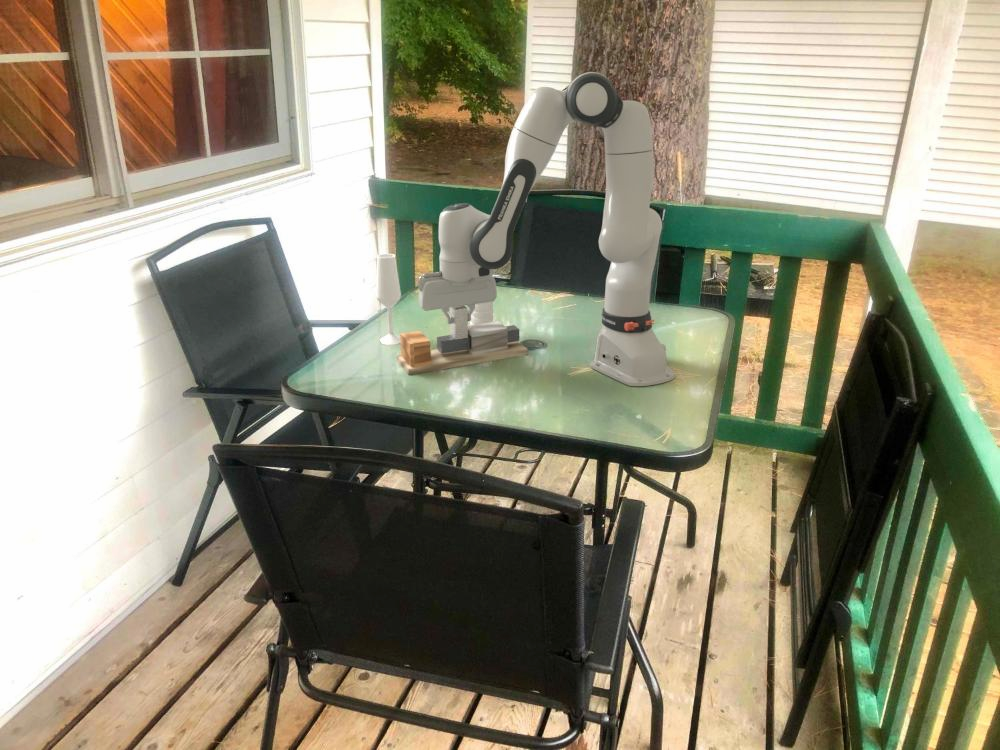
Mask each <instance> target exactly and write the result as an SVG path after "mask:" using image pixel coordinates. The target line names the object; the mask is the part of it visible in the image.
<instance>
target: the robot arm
mask: <svg viewBox="0 0 1000 750" xmlns="http://www.w3.org/2000/svg"><path fill="white" fill-rule="evenodd" d="M650 118H651V117H650V114H649V109H648V108H647V106H646V105H645V104H643V103H641V102H639V101H636V100H630V99H629V100H628V99H627V100H623V99H622V98H621V96H620V94H619V93H618V92H617V89H616V87H615V86H614V85H613V83H612V81H611V80H610V79H609V78H608V77H607V76H605V75H603V74H601V73H599V72H597V71H587V72H584V73H581V74H580V75H578V76H576V77H575V78H574V79H573V81H572V82H571V83H570V84H568V85H566V87H565V88H564V89H562V90H560V89H559V90H558V89H556V88H555V87H549V86H541V87H537V88H535V89H534V90H533V91H532V92H531V93H530V95H529V97H528V99H526V101H525V103H524V105H523V107H522V108H521V110H520V113H519V114H518V116H517V119H516V121H515V123H514V126H513V127H512V129H511V133H510V136H509V139H508V142H507V146H506V150H505V151H506V152H505V156H504V157H505V158H504V172H503V173H504V174H503V182H502V185H501V189H500V190H499V193H498V196H497V199H496V201H495V204H494V206H493V208H492V210H491V213H490V214H487V213H485V212H483V211H480V210H479V209H477V208H475V207H474V206H473V205H471V204H470V203H467V202H459V203H453V204H451V205H447V206H445V208H444V209H442V211H441V212H440V214H439V219H438V244H439V247H440V252H439V256H438V257H439V271H434V272H430V273H429V272H425V273H423V274H422V275H421V276H420V277H419V278H418V279H417V286H418V290H419V291H418V305H419V307H420V308H421V309H422V310H424V311H425V312H428V311H429V312H430V311H436V310H441V312H442V313H443V315H444V316H445V322H446V324H447V325H450V324H452V323H454V321H453V320H454V318H453V316H451V315H449V308H451V307H458V306H465V307H467V315H468V322H470V321H471V315H472V313H473V311H474V309H475V304H479V303H486V302H493V303H494V301H496V299H497V297H498V296H497V295H498V290H497V282H496V278H495V277H494V276H492V275H494V270H497V269H501V268H502V267H504V266H505V265H507V264H508V263H509V261H510V260H511V258H512V256H513V252H514V231H515V229H516V225H517V224H518V221H519V218H520V216H521V213H522V211H523V209H524V206H525V205H526V201H527V199H528V197H529V195H530V192H531V191H532V189H533V188H534V186H535V184H536V183H537V181H538V180H539V178H540V177H541V175H542V174H543V172H544V171H545V169H546V167H547V166H548V165H549V163H550V161H551V159H552V157H553V155H554V153H555V152H556V150H557V147H558V145H559V142H560V140H561V138H562V135H563V133H564V132H565V130H566V129H567V127H568V126H570V124H571V123H573V122H579V123H581V124H585V125H588V126H589V125H590V126H593V127H597V128H601V129H602V131H603V137H604V157H605V185H606V186H605V196H604V197H605V198H604V205H603V206H604V207H603V213H602V214H603V215H602V225H601V230H600V233H599V238H598V247H599V250H600V253H601V255H602V256H603V257H604V258H605V259H606V260H607V261H609V262H610V266H609V269H608V272H607V275H606V278H605V291H604V306H603V309H602V311H601V312H602V313H601V324H602V327H601V328H600V331H599V333H598V335H597V339H596V345H595V353H594V360H592V361H591V362H590V368H591V369H593V370H595V371H597V372H599V373H601V374H603V375H605V376H607V377H610V378H611V379H614V380H616V381H617V382H620V383H622V384H624V385H627V386H629V387H646V386H647V387H648V386H653V385H659V384H663V383H667V382H670V381H673V380H674V379H675V378H676V377H677V375H676V372H675V371H674V370H673V369H672V368H671V367H670V366H668V365H667V360H668V358H667V353H666V349H667V348H666V345H665V344H663V343H661V342H660V340H659V339H658V337H657V335H656V334H655V332H654V331H653V330H654V329H652V328H653V325H654V324H655V323H654V321H655V319H652V315H651V311H650V301H651V300H650V298H651V287H652V278H653V274H654V269H655V266H656V265H655V264H656V260H657V254H658V249H659V243H660V237H661V233H662V230H663V221H662V219H661V216H660V214H659V213H658V212H657V211H656V210H655V209H653V208H651V207H650V205H651V199H652V193H653V189H654V184H655V180H654V178H655V177H654V175H655V173H654V140H653V131H652V130H653V129H652V123H651V119H650Z"/></svg>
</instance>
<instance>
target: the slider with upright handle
mask: <svg viewBox="0 0 1000 750" xmlns="http://www.w3.org/2000/svg"><path fill="white" fill-rule="evenodd" d="M467 310H468V306H466V305H465V306H458V307H451V308H449V312H448V314H449V315H451V316H453V318H454V320H453V321H454V323H452V324H449V334H448V335H442V336H441V335H439V336H436V349H437V350H438V351H439V352H440V353H441V354H443V353H449V352H455V351H462V350H468V349H471V336H470V335H469V334H468V326H469V323H468V322H469V321H468V315H467ZM505 327H507V328H508V343H511V342H517V341H518V342H520V328H518V327H517V326H516V325H505Z"/></svg>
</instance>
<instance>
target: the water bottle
mask: <svg viewBox="0 0 1000 750" xmlns="http://www.w3.org/2000/svg"><path fill="white" fill-rule="evenodd" d="M493 275H494V274H493ZM493 275H492V276H493ZM493 277H494V276H493ZM493 308H494V301H493V302H486V303H479V304H475V309H474V311H473V313H472V315H471V321H469V326H470V325H476V324H483V323H490V322H494V309H493Z"/></svg>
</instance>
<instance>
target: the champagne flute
mask: <svg viewBox="0 0 1000 750" xmlns="http://www.w3.org/2000/svg"><path fill="white" fill-rule="evenodd" d="M375 285H376V286H375V288H376V289H375V297H376V299H377V301H378V302H379V303H380V305H382V306H384V307H385V308H387V309H386V310H387V311H386V312H387V325H388V334H386V335H384V336H383V337H382V338H380V339H379V340H380V342H381V343H380V342H379V343H380V344H383V345H387V346H392V345H398V344H401V340H400V335H397V334H395V333H394V326H393V311H392V307H394V306H396V304H397V303H398V302H399V301H400V299H401V297H402V292H401V286H400V279H399V272H398V267H397V260H396V254H393V253H381V254H378V255H377V256H376V284H375Z"/></svg>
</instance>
